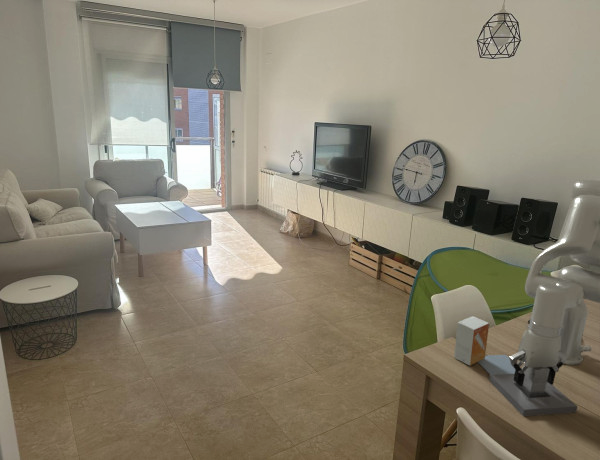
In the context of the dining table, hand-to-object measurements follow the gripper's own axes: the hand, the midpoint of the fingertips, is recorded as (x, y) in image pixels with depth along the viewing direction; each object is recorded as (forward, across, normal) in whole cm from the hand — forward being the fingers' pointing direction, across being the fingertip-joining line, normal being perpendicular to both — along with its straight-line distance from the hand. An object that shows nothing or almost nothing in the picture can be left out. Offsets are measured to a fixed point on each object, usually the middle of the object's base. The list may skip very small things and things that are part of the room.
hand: (533, 382), depth 123 cm
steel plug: (+4, 0, 0) cm, 4 cm away
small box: (+4, +8, -20) cm, 22 cm away
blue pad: (+4, 0, -15) cm, 16 cm away
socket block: (+4, 0, 0) cm, 4 cm away
